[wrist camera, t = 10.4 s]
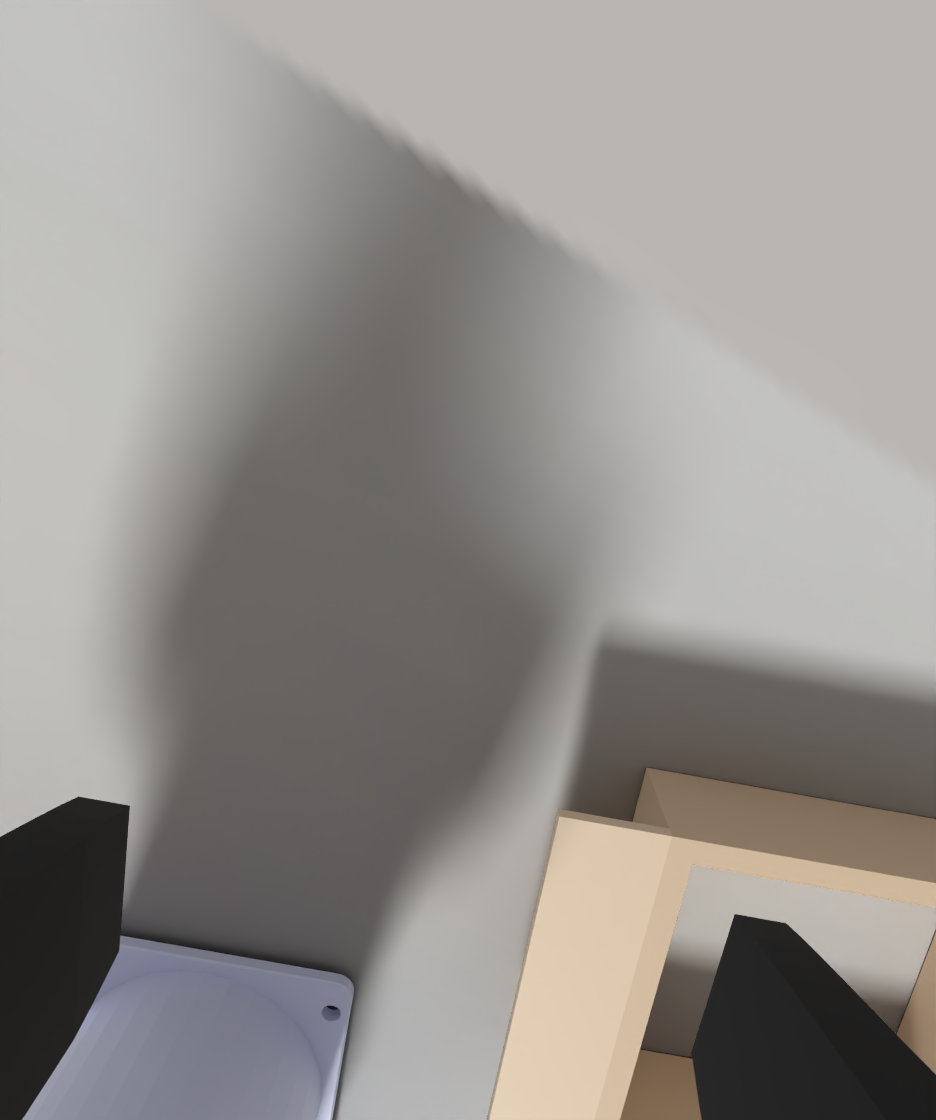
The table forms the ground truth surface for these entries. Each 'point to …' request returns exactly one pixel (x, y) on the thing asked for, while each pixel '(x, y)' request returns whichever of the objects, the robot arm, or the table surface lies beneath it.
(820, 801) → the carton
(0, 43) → the table surface
